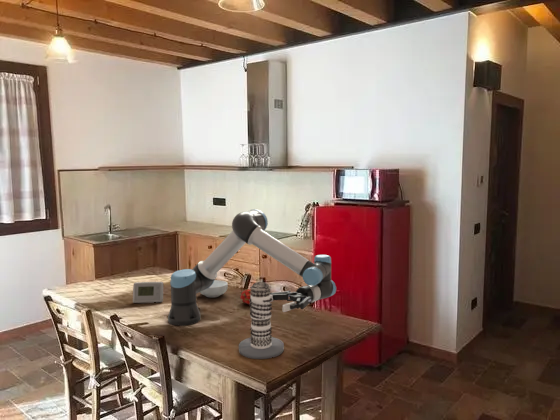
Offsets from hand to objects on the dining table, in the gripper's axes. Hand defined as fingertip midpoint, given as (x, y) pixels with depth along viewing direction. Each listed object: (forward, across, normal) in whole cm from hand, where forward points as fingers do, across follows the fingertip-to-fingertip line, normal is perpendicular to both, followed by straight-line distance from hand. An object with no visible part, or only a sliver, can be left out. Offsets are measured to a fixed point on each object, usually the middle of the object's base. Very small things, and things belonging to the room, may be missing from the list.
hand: (271, 304), depth 184 cm
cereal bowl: (-24, +76, -17) cm, 82 cm away
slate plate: (+5, 0, -17) cm, 18 cm away
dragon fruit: (-29, +50, -18) cm, 60 cm away
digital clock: (+8, +91, -17) cm, 93 cm away
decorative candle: (+5, 0, -15) cm, 16 cm away
